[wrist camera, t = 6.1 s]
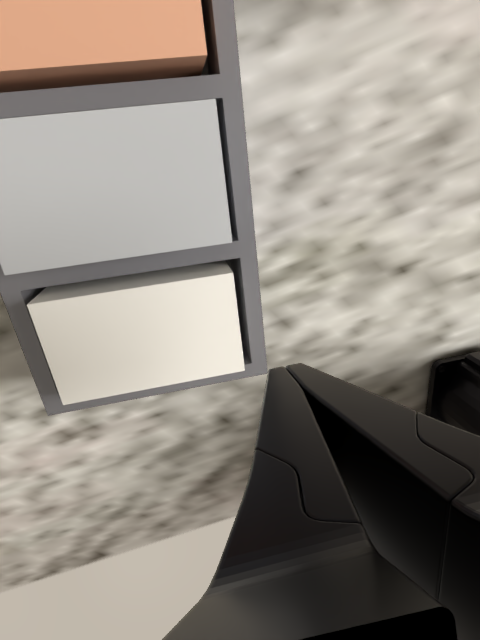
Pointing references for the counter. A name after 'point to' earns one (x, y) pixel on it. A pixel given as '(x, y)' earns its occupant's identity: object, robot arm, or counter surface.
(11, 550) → the counter surface
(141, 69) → the terracotta key
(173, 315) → the white key
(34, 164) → the grey key
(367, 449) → the robot arm
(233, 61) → the key panel
